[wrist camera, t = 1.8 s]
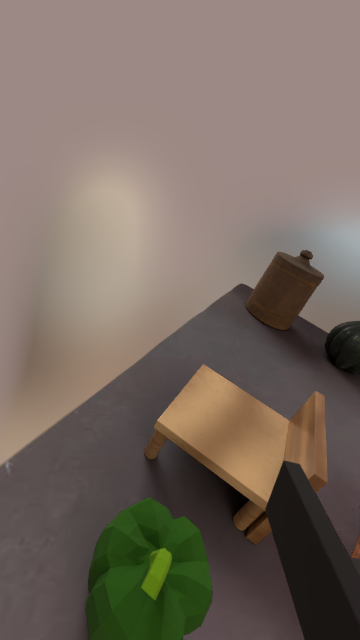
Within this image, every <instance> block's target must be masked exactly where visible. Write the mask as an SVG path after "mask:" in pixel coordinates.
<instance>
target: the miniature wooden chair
mask: <svg viewBox="0 0 360 640" xmlns="http://www.w3.org/2000/svg"><path fill="white" fill-rule="evenodd" d="M154 428H155V429H156V430H155V432H154V434H153V435H152V437H151V439H150V441H149V443H148V445H147V446H146V448H145V450H144V453H145V456H146V457H147V458H149V459H155V458H156V457H157V455H158V453H159V452H160V450H161V448H162V447H163V445H164V443H165V442H166V440H167V438H168V439H170V440H171V441H172V442H174V443H175V444H176V445H178V446H179V447H180V448H182V449H183V450H184V451H186V452H187V453H188V454H190V455H191V456H192V457H194V458H195V459H196V460H198V461H199V462H200V463H202V464H203V465H204V466H206V467H207V468H208V469H210V470H211V471H212V472H214V473H215V474H216V475H218V476H219V477H220V478H222V479H223V480H224V481H226V482H227V483H228V484H230V485H231V486H232V487H234V488H235V489H236V490H238V491H239V492H240V493H242V494H243V495H244V496H246V497H247V498H248V499H250V500H249V501H248V502H247V503H246V504H245V505H244V506H243V507H242V508H241V509H240V510H239V511H238V512H237V513H236V514H235V515H234V517H233V522H234V525H235V526H236V528H237V529H239V530H241V531H244V530H245V529H246V528H247V527H248V531H247V535H246V538H247V539H248V540H250V541H251V542H252V543H253V544H255V545H257V544H258V543H259V542H260V541H261V540H262V539H264V538H265V537H266V536H267V535H268V534H269V533H270V532H272V530H271V527H270V523H269V520H268V517H267V514H266V510H265V508H266V506H267V503H268V500H269V498H270V495H271V492H272V490H273V487H274V484H275V482H276V479H277V476H278V474H279V471H280V468H281V466H282V463H283V460H285V461H289V462H294V463H298V464H300V465H301V467H302V469H303V471H304V473H305V474H306V476H307V478H308V480H309V482H310V484H311V486H312V488H313V489H314V491H315V493H316V492H317V491H319V490H320V489H321V488H322V487H323V486H324V485H325V484H327V454H326V426H325V399H324V396H323V395H322V394H320V393H319V392H317V391H315V392H314V393H313V395H312V396H311V397H310V398H309V399H308V400H307V401H306V403H305V404H304V405H303V406H302V407H301V408H300V409H299V411H298V412H297V413H296V414H295V415H294V416H293V417H292V419H291V420H290V421H289V420H287V419H286V418H284V417H283V416H281V415H280V414H278V413H277V412H275V411H274V410H272V409H270V408H269V407H267V406H266V405H264V404H263V403H261V402H260V401H258V400H257V399H255V398H254V397H252V396H251V395H249V394H248V393H246V392H245V391H243V390H242V389H240V388H239V387H237V386H236V385H234V384H233V383H231V382H230V381H228V380H226V379H225V378H223V377H222V376H220V375H219V374H217V373H216V372H214V371H213V370H211V369H210V368H208V367H207V366H205V365H204V364H203V365H202V366H201V367H200V369H199V370H198V371H197V372H196V374H195V375H194V376H193V377H192V379H191V380H190V381H189V382H188V383H187V385H186V386H185V387H184V388H183V390H182V391H181V392H180V393H179V394H178V396H177V397H176V398H175V399H174V401H173V402H172V403H171V404H170V406H169V407H168V408H167V409H166V410H165V412H164V413H163V414H162V415H161V417H160V418H159V419H158V420H157V422H156V424H155V426H154Z"/></svg>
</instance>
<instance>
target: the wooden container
mask: <svg viewBox="0 0 360 640" xmlns="http://www.w3.org/2000/svg"><path fill="white" fill-rule="evenodd" d="M312 258H313V255H312V254H311V252H309V251H307V250H305V251H304V250H303V251H301V253H300V256H298V257H293V256H290V255H288V254H285V253H282V252H277V254H276V255H275V257H274V259H273V260H272V262H271V263H270V265H269V267H268V268H267V270H266V271H265V273H264V275H263V276H262V278H261V279H260V281H259V282H258V284H257V286H256V287H255V289H254V291H253V292H252V294H251V296H250V297H249V299H248V301H247V303H246V307H247V309H248V311H249V312H250V313H251V314H252V315H253V316H255V317H256V318H257V319H259V320H260V321H262V322H263V323H265V324H267V325H269V326H271V327H273V328H276V329H280V330H287V329H288V328H289V327H290V326H291V324H292V323H293V321H294V320H295V318H296V317H297V316H298V314H299V313H300V311H301V310H302V309H303V307H304V306H305V304H306V302H307V301H308V299H309V298H310V296H311V295H312V293H313V292H314V291H315V289H316V287H317V286H318V285H319V284H320V283H321V281H322V280H323V278H324V275H323V274H322V273H321V272H319V271H318V270H317V269H315V268H313V267H312V266H310V264H309V259H312Z"/></svg>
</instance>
